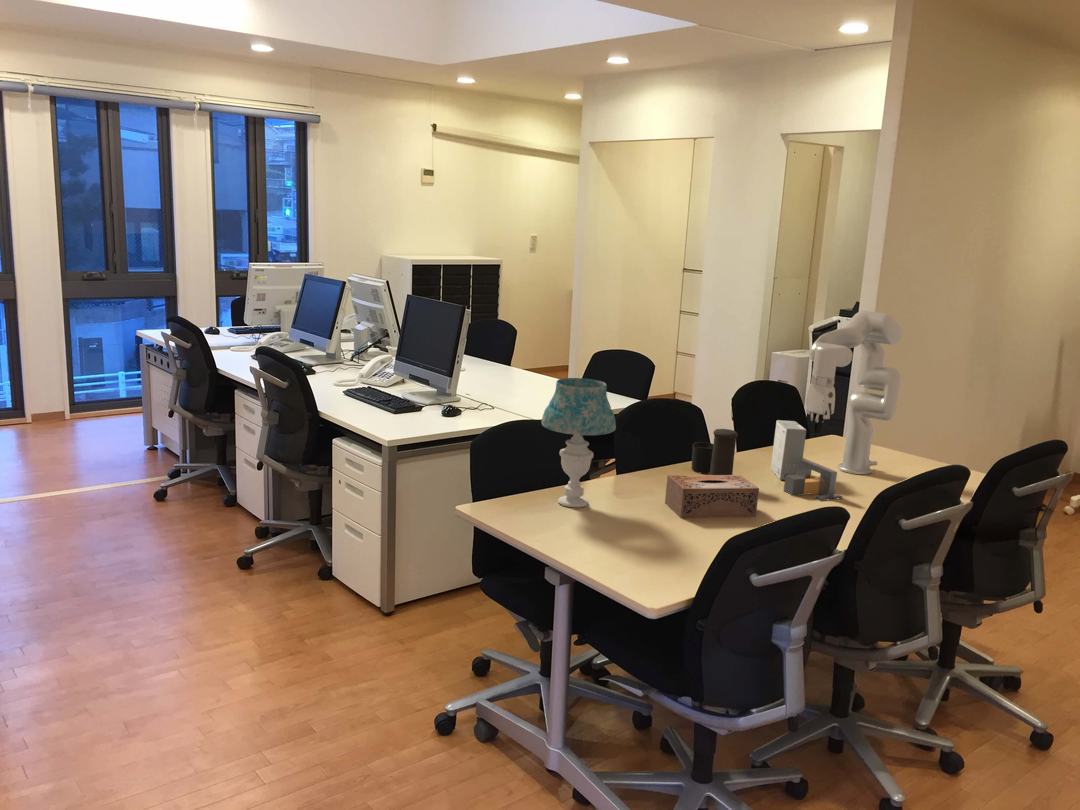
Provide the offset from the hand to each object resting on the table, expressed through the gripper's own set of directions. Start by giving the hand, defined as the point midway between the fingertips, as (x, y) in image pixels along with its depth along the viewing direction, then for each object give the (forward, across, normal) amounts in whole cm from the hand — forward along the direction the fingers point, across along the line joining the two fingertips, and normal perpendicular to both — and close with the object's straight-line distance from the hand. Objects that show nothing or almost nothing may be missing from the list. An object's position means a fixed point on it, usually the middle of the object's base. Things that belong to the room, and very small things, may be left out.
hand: (815, 432), depth 302 cm
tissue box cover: (+24, -8, +47) cm, 53 cm away
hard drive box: (+22, +20, -7) cm, 31 cm away
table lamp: (+24, +9, +89) cm, 92 cm away
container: (+23, +17, +25) cm, 38 cm away
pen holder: (+22, +33, +22) cm, 46 cm away
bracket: (+22, 0, -3) cm, 22 cm away
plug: (+22, +1, 0) cm, 22 cm away
